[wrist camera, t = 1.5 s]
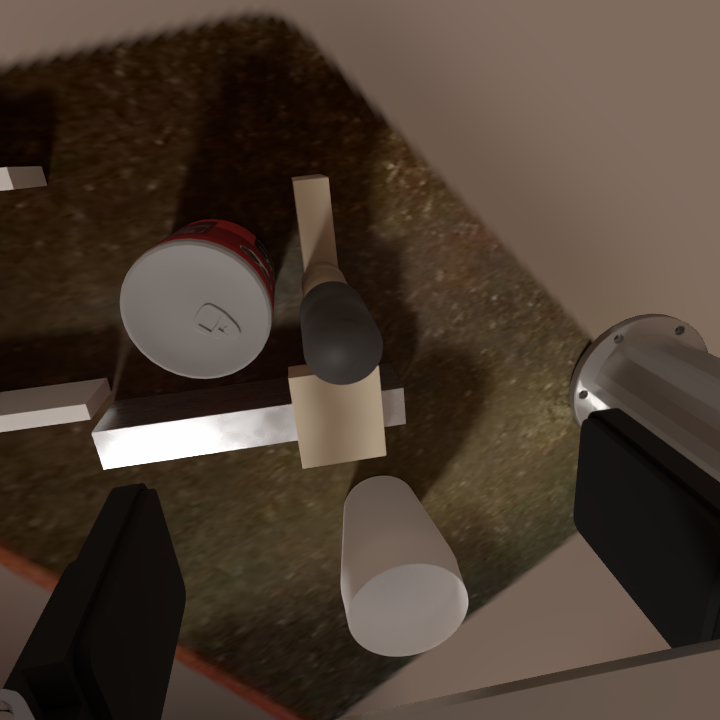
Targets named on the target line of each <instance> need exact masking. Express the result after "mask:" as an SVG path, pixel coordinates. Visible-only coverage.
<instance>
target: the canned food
mask: <svg viewBox="0 0 720 720" xmlns="http://www.w3.org/2000/svg"><path fill="white" fill-rule="evenodd" d="M274 292H275V270H274V265H273V262H272V259H271V257H270V254H269V253H268V251H267V249H266V248H265V246H264V245H263V244H262V242H261V241H260V240H259V239H258V238H257V237H256V236H255V235H254V234H252V233H251V232H250V231H248V230H247V229H245V228H243V227H242V226H240V225H238V224H235V223H232V222H229V221H226V220H218V219H206V220H200V221H196V222H193V223H190V224H188V225H187V226H185V227H183V228H181V229H180V230H178V231H176V232H175V233H173V234H172V235H170V236H169V237H167V238H165V239H164V240H162V241H161V242H159V243H157V244H156V245H154V246H153V247H151V248H150V249H149V250H147V251H146V252H145V253H144V254H143V255H142V256H141V257H139V258H138V259H137V260H136V262H135V263H134V264H133V266H132V267H131V269H130V270H129V272H128V273H127V275H126V277H125V280H124V282H123V285H122V289H121V295H120V309H121V316H122V319H123V323H124V326H125V328H126V330H127V332H128V334H129V336H130V338H131V340H132V341H133V342H134V344H135V345H136V346H137V347H138V349H139V350H140V351H141V352H142V353H143V354H144V355H145V356H146V357H148V358H149V359H150V360H151V361H152V362H154V363H155V364H157V365H159V366H160V367H162V368H163V369H165V370H168V371H170V372H173V373H175V374H177V375H181V376H186V377H190V378H200V379H210V378H219V377H223V376H226V375H230V374H233V373H235V372H237V371H239V370H241V369H242V368H244V367H246V366H247V365H248V364H249V363H251V362H252V361H253V360H254V359H255V358H256V357H257V355H258V354H259V353H260V352H261V351H262V349H263V347H264V345H265V343H266V341H267V339H268V337H269V334H270V330H271V326H272V320H273V310H274Z"/></svg>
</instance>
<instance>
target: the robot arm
mask: <svg viewBox="0 0 720 720" xmlns="http://www.w3.org/2000/svg"><path fill="white" fill-rule="evenodd" d="M569 398H570V407H571V411H572V414H573V417H574V419H575V420H576V422H577V424H578V425H579V426H580V427H581V435H580V446H579V458H578V469H577V481H576V492H575V503H574V522H575V525H576V528H577V530H578V531H579V533H580V534H581V535H582V536H583V538H584V539H585V540H586V541H587V543H588V544H589V545H590V546H591V548H592V549H593V550H594V552H595V553H596V554H597V555H598V557H599V558H600V559H601V560H602V561H603V563H604V564H605V565H606V567H607V568H608V569H609V570H610V571H611V573H612V574H613V575H614V577H615V578H616V579H617V580H618V581H619V583H620V584H621V585H622V587H623V588H624V589H625V590H626V592H627V593H628V594H629V595H630V596H631V598H632V599H633V600H634V602H635V603H636V604H637V605H638V607H639V608H640V609H641V610H642V611H643V613H644V614H645V615H646V617H647V618H648V619H649V620H650V622H651V623H652V624H653V625H654V627H655V628H656V629H657V630H658V632H659V633H660V634H661V635H662V637H663V638H664V639H665V640H666V642H667V643H668V644H669V645H670V646H671V648H672V649H668V650H662V651H658V652H653V653H648V654H643V655H638V656H634V657H628V658H624V659H619V660H615V661H609V662H605V663H600V664H595V665H590V666H585V667H580V668H575V669H570V670H565V671H561V672H556V673H551V674H546V675H542V676H537V677H533V678H528V679H523V680H519V681H513V682H509V683H504V684H499V685H495V686H490V687H485V688H481V689H476V690H471V691H467V692H462V693H457V694H452V695H448V696H443V697H438V698H434V699H429V700H424V701H420V702H415V703H410V704H405V705H401V706H396V707H392V708H387V709H383V710H378V711H373V712H369V713H364V714H360V715H355V716H350V717H346V718H341V719H337V720H720V358H718V357H716V356H713V355H711V354H709V353H708V351H707V348H706V345H705V343H704V341H703V339H702V337H701V336H700V335H699V333H698V332H697V331H696V330H695V329H694V328H693V327H691V326H690V325H689V324H687V323H685V322H683V321H681V320H679V319H676V318H673V317H670V316H667V315H661V314H647V315H639V316H635V317H632V318H629V319H626V320H624V321H622V322H620V323H618V324H616V325H614V326H612V327H611V328H610V329H608V330H607V331H605V332H604V333H603V334H601V335H600V336H599V337H598V338H597V339H596V340H595V341H594V342H593V343H592V344H591V345H590V346H589V347H588V349H587V350H586V351H585V353H584V354H583V356H582V357H581V359H580V361H579V362H578V364H577V366H576V368H575V371H574V374H573V377H572V380H571V384H570V393H569ZM185 602H186V591H185V585H184V582H183V578H182V575H181V571H180V568H179V565H178V561H177V558H176V555H175V551H174V548H173V545H172V541H171V538H170V535H169V531H168V528H167V525H166V521H165V518H164V514H163V511H162V508H161V504H160V501H159V498H158V494H157V492H156V490H155V489H147V487H146V486H145V484H143V483H140V484H133V485H127V486H121V487H115V488H113V489H112V490H111V492H110V494H109V496H108V498H107V500H106V502H105V504H104V506H103V508H102V510H101V512H100V514H99V516H98V517H97V519H96V521H95V523H94V525H93V527H92V529H91V531H90V533H89V535H88V537H87V539H86V541H85V543H84V545H83V547H82V549H81V551H80V553H79V555H78V557H77V559H76V560H75V561H73V562H71V563H70V564H69V565H68V566H67V567H66V569H65V570H64V572H63V574H62V576H61V578H60V580H59V582H58V584H57V586H56V587H55V589H54V591H53V593H52V595H51V597H50V599H49V601H48V603H47V605H46V607H45V609H44V611H43V613H42V614H41V616H40V618H39V620H38V622H37V624H36V626H35V628H34V630H33V632H32V634H31V635H30V637H29V639H28V641H27V643H26V645H25V647H24V649H23V651H22V653H21V655H20V656H19V659H18V660H17V662H16V664H15V666H14V668H13V670H12V672H11V674H10V676H9V678H8V679H7V681H6V683H5V685H4V687H3V689H1V690H0V720H161V716H162V711H163V707H164V702H165V697H166V693H167V688H168V683H169V679H170V674H171V669H172V664H173V660H174V655H175V650H176V646H177V641H178V636H179V631H180V627H181V622H182V617H183V613H184V608H185Z"/></svg>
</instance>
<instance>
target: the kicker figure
mask: <svg viewBox="0 0 720 720" xmlns="http://www.w3.org/2000/svg"><path fill="white" fill-rule="evenodd" d="M291 178H292V185H293V192H294V200H295V207H296V215H297V222H298V230H299V237H300V244H301V252H302V259H303V267H304V275H303V278H302V289H303V297H304V299H303V301H302V303H301V307H300V321H301V331H302V342H303V352H304V358H305V361H306V363H307V364H306V365H298V366H291V367H288V380H289V386H290V392H291V399H292V405H293V411H294V417H295V424H296V430H297V436H298V442H299V449H300V455H301V461H302V467H303V469H304V468H311V467H317V466H324V465H330V464H336V463H343V462H349V461H355V460H362V459H368V458H375V457H381V456H386V445H385V433H384V421H383V409H382V397H381V385H380V374H379V365H378V364H379V362H380V359H381V357H382V353H383V339H382V335H381V333H380V330H379V328H378V327H377V325H376V323H375V321H374V319H373V318H372V316H371V314H370V312H369V310H368V309H367V307H366V305H365V303H364V301H363V300H362V298H361V296H360V295H359V293H358V292H357V291H356V290H355V289H354V288H353V287H351V286H350V285H348V284H347V282H346V280H345V278H344V276H343V274H342V272H341V271H340V269H339V268H338V262H337V253H336V244H335V234H334V225H333V216H332V207H331V197H330V188H329V179H328V177H326V176H324V175H321V174H317V175H307V176H297V177H291Z"/></svg>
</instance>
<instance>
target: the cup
mask: <svg viewBox="0 0 720 720" xmlns="http://www.w3.org/2000/svg"><path fill="white" fill-rule="evenodd" d="M341 593H342V598H343V602H344V606H345V611H346V615H347V620H348V625H349V629H350V632H351V634H352V636H353V637H354V639H355V640H356V641H357V642H358V643H359V644H360V645H361V646H363V647H364V648H366V649H367V650H369V651H371V652H374V653H377V654H380V655H385V656H409V655H414V654H418V653H422V652H425V651H427V650H430V649H432V648H434V647H436V646H438V645H439V644H441V643H442V642H444V641H445V640H446V639H448V638H449V637H450V636H451V635H452V634H453V633H454V632H455V631H456V630H457V629H458V628H459V626H460V625H461V623H462V621H463V620H464V618H465V615H466V612H467V608H468V595H467V591H466V588H465V586H464V583H463V580H462V577H461V575H460V572H459V568H458V565H457V561H456V559H455V556H454V554H453V553H452V551H451V549H450V547H449V546H448V544H447V543H446V541H445V540H444V538H443V537H442V535H441V534H440V532H439V530H438V529H437V527H436V526H435V524H434V523H433V521H432V520H431V518H430V517H429V515H428V514H427V512H426V511H425V509H424V508H423V506H422V505H421V503H420V502H419V500H418V498H417V497H416V495H415V494H414V492H413V491H412V489H411V488H410V487H409V485H408V484H406V483H405V482H404V481H402V480H401V479H398V478H396V477H392V476H375V477H371V478H368V479H366V480H364V481H362V482H360V483H359V484H357V485H356V486H355V487H354V488H353V489H352V490H351V491H350V493H349V494H348V496H347V498H346V500H345V504H344V519H343V541H342V563H341Z"/></svg>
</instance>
